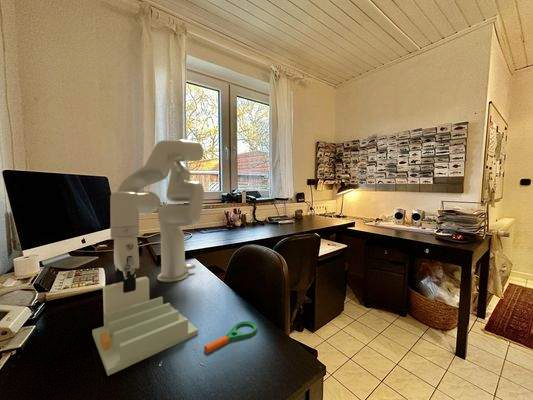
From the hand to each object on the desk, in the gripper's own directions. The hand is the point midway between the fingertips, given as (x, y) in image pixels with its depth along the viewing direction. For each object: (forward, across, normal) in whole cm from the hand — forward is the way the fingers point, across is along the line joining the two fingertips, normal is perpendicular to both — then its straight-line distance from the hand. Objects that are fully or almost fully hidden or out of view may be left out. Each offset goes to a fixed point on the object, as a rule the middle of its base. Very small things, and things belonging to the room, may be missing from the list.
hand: (125, 286), depth 73 cm
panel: (+8, +1, -1) cm, 8 cm away
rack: (+8, -16, -1) cm, 18 cm away
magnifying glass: (+9, -33, -16) cm, 38 cm away
